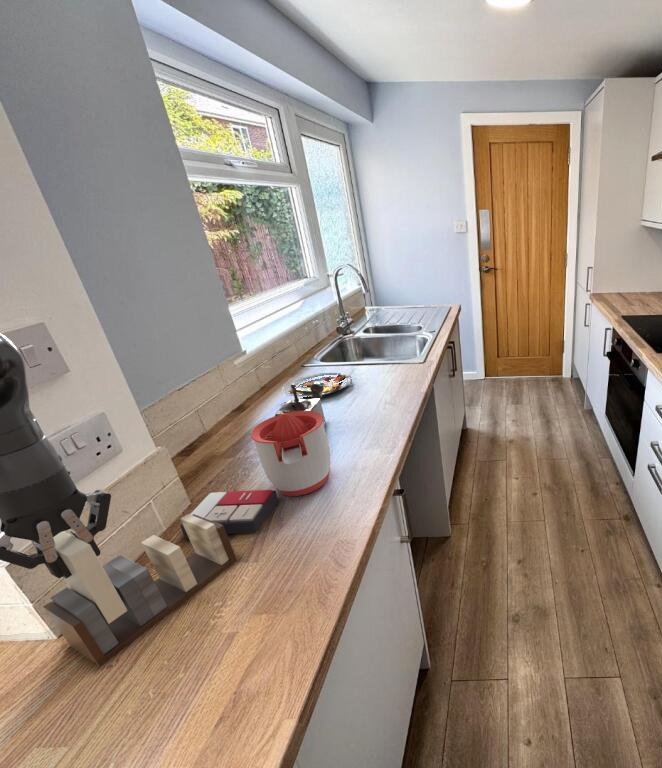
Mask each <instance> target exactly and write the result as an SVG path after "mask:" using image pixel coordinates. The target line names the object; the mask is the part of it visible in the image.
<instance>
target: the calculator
mask: <svg viewBox="0 0 662 768" xmlns="http://www.w3.org/2000/svg"><path fill="white" fill-rule="evenodd" d="M278 502H279V497H278V494H277V490H276V489H275V490H273V489H253V490H229V491H218V492H217V491H216V492H209V493H208V494H207V495H206V496H205V497H204V499H202V500H201V502H200V503H199V504H198V505H197V506H196V507H195V508H194V509H193V510H192V511H191V513H189V514H190V515H193V514H195V515H198V516H200V517H203V518H205V519H208V520H211V521H213V522H216V523H218V524H221V525H223V526H224V529H225V531H226V534H227V535H235V534H256V533H257V532H258V531H259V530H260V528H261V527H262V526H263V524H264V522H265V521H266V519H267V518H268V516H269V515H270V514H271V512H272V511H273V509H274V508H275V506H276V505H277V503H278ZM179 528H180V529H181V532H182V535H183V538H184V539H189V537H188V535H187V533H186V530H185V528H184V526H183V524H182V522H181V523H180V524H179Z"/></svg>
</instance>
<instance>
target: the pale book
mask: <svg viewBox="0 0 662 768" xmlns="http://www.w3.org/2000/svg"><path fill="white" fill-rule="evenodd" d="M53 538H54V541H55V549H56V552H57V554H58V556H59V557H61V558H62V559H63V561H64V563H65V564H66V566H67V567H68V569H69V571H70V572H71V574H72V576H70V577H68V578H67V579H65V578H64V577H62V578H63V580H64V581H65V583H66V584H67V586H68V588H69V589H71V590H72V591H74V592H75V593H77V594H79V595H80V596H82V597H84V598H85V599H87V600H89V601H90V602H92V603H93V604H95V606H96V608H97V609H98V611H99V612H100V614H101V616H102V617H103V619H104V620H105V622H106V623H108V624H109V623H111V622H112V621H114V620H115V619H117V618H118V617H119V616H121V615H122V614H124V613H125V612H126V611H127V609H126V607H125V605H124V603H123V602H122V600H121V598H120V596H119V595H118V593H117V591H116V589H115V588H114V586H113V584H112V582H111V580H110V579H109V577H108V575H107V573H106V572H105V570H104V568H103V564H102V563H101V561H100V559H99V557H98V556H96V554H95V552H94V551H93V549H92V547H91V545H90V544H88V543H86V542H84V541H82V540H80V539H78V538H76V537H74V536H73V535H72V534H71V533H68V532H66V531H63V532H60V533H59V534H57V535H56V536H55V537H53Z"/></svg>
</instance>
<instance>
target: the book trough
mask: <svg viewBox="0 0 662 768" xmlns="http://www.w3.org/2000/svg"><path fill="white" fill-rule="evenodd" d="M190 514H191V513H187V514H186V515H184V516H182V517H181V518H180V522H181V523H182V524H183V526H184V528H185V530H186V533H187V535H188V537H189V538H188V539H189V541H190V544H191V546H192V548H193V550H194V553H193V554H191V555H190V556H188V557H187V558H186V556H185V555H184V552H183V550H182V548H181V546H179V545H176V544H174V543H172V542H170V541H168V540H165V539H163V538H161V537H159V536H158V535H157V536H156V535H154V534H152V535H151V536H149V537H147V538H146V539H144V540H142V541H141V542H140V544H141V546H142V548H143V550H144V552H145V554H146V556H147V558H148V559H149V562H150V564H151V565H152V567H153V569H154V571H155V573H156V575H157V577H158V578H156V579H155V580H154V578H153V576H152V575H151V572H150V570H149V568H147V567H145V566H143V565H141V564H139V563H137V562H136V561H133V560H131V559H129V558H128V557H126V556H124V555H121V554H119V555H118V556H116V557H115V558H113V559H111V560H109V561H108V562H106V563H105V564H102V566H103V568H104V570H105V572H106V573H107V575H108V577H109V579H110V580H111V582H112V584H113V586H114V588H115V589H116V591H117V593H118V595H119V596H120V598H121V600H122V602H123V603H124V605H125V607H126V609H127V611H126V612H125V613H124V614H122V615H121V616H119V617H118V618H117V619H115V620H114V621H112V622H111V623H109V624H108V623H106V622H105V620H104V619H103V617H102V616H101V614H100V612H99V611H98V609H97V608H96V606H95V604H93V603H92V602H90V601H89V600H87V599H85V598H84V597H82V596H80V595H79V594H77V593H75V592H74V591H72V590H71V589H70V588H69V587H65V588H63V589H62V590H60V591H58V592H57V593H55V594H53V595H52V596H50V597H49V598H50V600H51V601H49V602H48V603H46V604H45V605H43V606H42V608H43V609H44V611H45V612H46V614H47V615H48V616H49V618H50V619H51V620H52V623H54V625H55V626H56V628H57V629H58V631H59V632H60V634H61V635H62V636H63V638H64V639H65V641H66V642H67V643H68V645H69V646H70V647H71V648H72V649H75V650H76V651H77V652H78V653H80V654H81V655H83V656H84V657H86V658H87V659H89V661H91V662H93V663H94V664H96V665H97V666H99V667H101V666H103V665H104V664H105V663H107V662H108V661H109V660H110V659H112V658H113V657H114V656H115V655H118V653H120V652H121V651H122V650H124V649H125V648H126V647H127V646H128V645H130V644H131V643H132V642H134V641H135V640H136V639H137V638H139V637H141V636H142V635H143V634H144V633H145V632H147V631H148V630H149V629H150V628H152V627H153V626H154V625H156V624H157V623H158V622H160V621H161V620H162V619H163V618H165V617H167V615H169V614H170V613H171V612H172V611H174V610H175V609H176V608H177V607H179V606H180V605H182V604H184V603H185V602H186V601H187V600H188V599H189V598H191V597H192V596H193V595H195V594H196V593H197V592H198V591H200V590H201V589H202V588H203V587H205V586H206V585H207V584H209V583H210V582H212V581H213V580H214V579H215V578H217V577H218V576H220V574H222V573H223V572H224V571H225V570H227V569H228V568H230V567H231V566H232V565H233V564H235V563H236V562H237V561H238V559H237V556H236V553H235V551H234V549H233V547H232V544H231V541H230V539H229V536H228V534H226V531H225V529H224V526H223V525H221V524H218V523H216V522H213V521H211V520H208V519H205V518H203V517H200V516H198V515H195V514H193V515H190Z"/></svg>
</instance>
